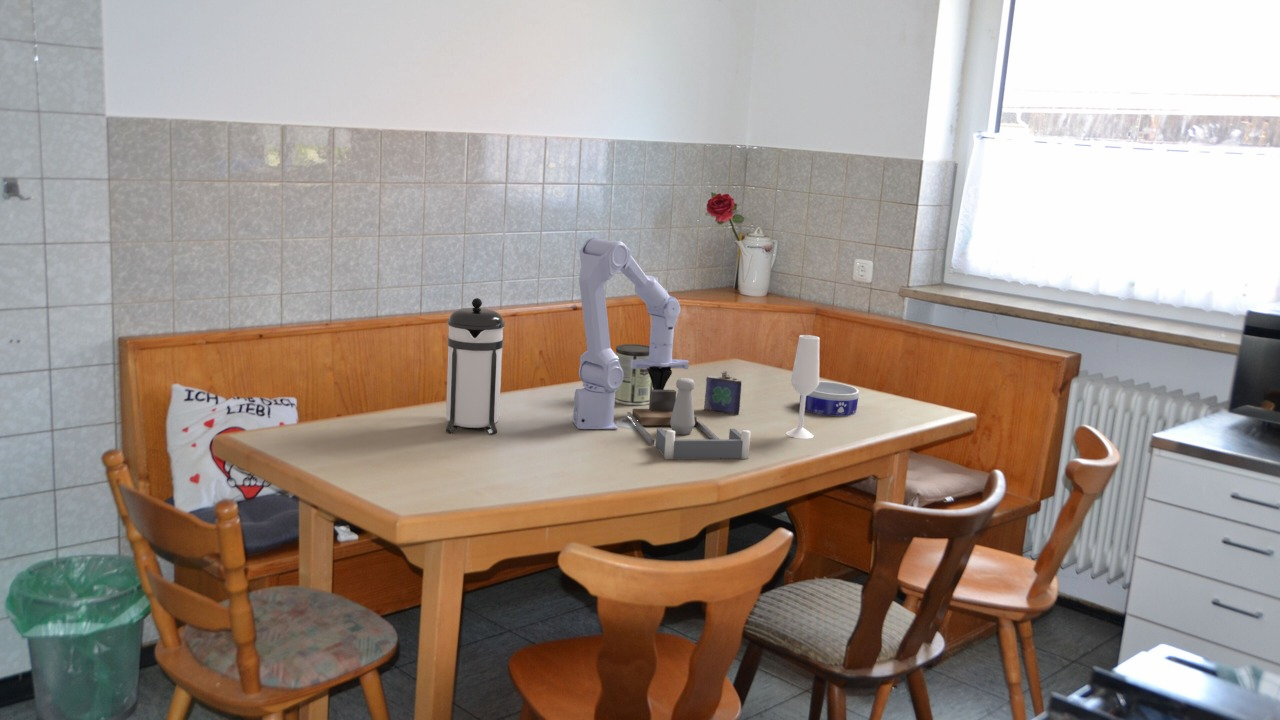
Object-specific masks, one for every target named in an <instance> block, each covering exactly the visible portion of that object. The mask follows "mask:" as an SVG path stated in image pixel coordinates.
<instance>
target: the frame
mask: <svg viewBox="0 0 1280 720" xmlns="http://www.w3.org/2000/svg"><path fill="white" fill-rule="evenodd" d="M655 434H656V435H655V448H657V449H658V450H659V452H660V453H661V454H662V455H663V458H664V459H665V460H677V459H678V460H680V459H682V460H683V459H684V460H691V459H692V460H695V459H700V460H701V459H705V460H706V459H707V460H708V459H709V460H711V459H713V458H714V459H720V458H722V459H724V458H726V459H728V458H729V459H743V460H747V459H749V457H750V446H751V443H750V442H751V430H747V429H743V430H741V432H739V431H738V430H737V429H736V428H729V432H728V438H727V439H725V438H724V439H720V438H719V439H710V438H709V439H690V438H689V439H687V438H686V439H678V438H677V439H676V433H675V431H673V430H672V429H667V430H664V429H663V428H656V433H655ZM724 460H725V459H724Z"/></svg>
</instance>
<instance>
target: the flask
mask: <svg viewBox="0 0 1280 720" xmlns="http://www.w3.org/2000/svg"><path fill="white" fill-rule="evenodd" d="M728 372H729V371H728V370H725V371H721V376H718V375H717V376H716V375H708V376H706V379H705V383H706V384H705V395H704V406H703V409H704V411H707V412H709V413H711V412H712V413H718V414H726V415H732V416H739V415H740V407H741V394H742V380H741V379H739V378H737V377H732V376H730V375H729V374H728Z"/></svg>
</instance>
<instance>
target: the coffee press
mask: <svg viewBox="0 0 1280 720" xmlns="http://www.w3.org/2000/svg"><path fill="white" fill-rule="evenodd" d="M482 304H483V301H482V300H481V298H479V297H478V298H477V297H476V298H474V299H473V300H472V301H471V306H472V307H465V308H459V309H456V310H454V311H453V312H451V314H450V315H449V318H448V319H447V320H446V323H447V326H448V334H447V340H446V341H447V343H446V345H447V373H446V374H447V375H446V407H445V409H446V410H445V414H446V415H445V417H446V420H447V422H448V424H447V425H446V427H445V432H446V433H448V434H451V433H452V434H454V433H455V432H456V430H457V429H458V428H460V427H461V428H470V429H472V428H473V429H476V428H477V429H479V428H483V429H485V430H486V432H487V433H488V435H490V436H493V435H496V434H498V429H497V427H496V424H497V423H498V422H499V419H500V406H501V385H502V384H501V383H502V365H503V364H502V361H503V360H502V359H503V348H504V337H503V334H504V328H505V326H506V322H505V321H504V318H503V316H502V314H500V313H499V312H498V311H495V310H493V309H491V308H490V309H488V308H483V307H481V306H483V305H482Z"/></svg>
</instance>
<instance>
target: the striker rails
mask: <svg viewBox="0 0 1280 720" xmlns="http://www.w3.org/2000/svg"><path fill="white" fill-rule="evenodd" d="M626 416H629V417H631V418H632V420H633V422H634V423H635V425H636V427H635V429H637V431H638V432H639V433H640V434H641V436H642V437H643V438H644V439H645V440H646V442H647V443H648V444H649V445H650V446H655V443H656V439H655V438H653V436H651V434H650V433H649V432H648V431H647V430H646V428H645V427H644V425H641V424H640V423H639V422H638V421H637V419H636V418H635V417H634V416H633V415H632V412H631V411H626ZM695 426H696V427H698V429H700V430H701V432H703V434H705V435H706V436H707V437H708V438H709V439H720V438H719V437H718V436H717V435H716V434H715V433H714V432H713V431H712V430H710V429H709V428H708V426H706V425H705V424H704V423H703V422H702V421H701V420H700V419H699V418H698V417H697V421H696V425H695Z"/></svg>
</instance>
